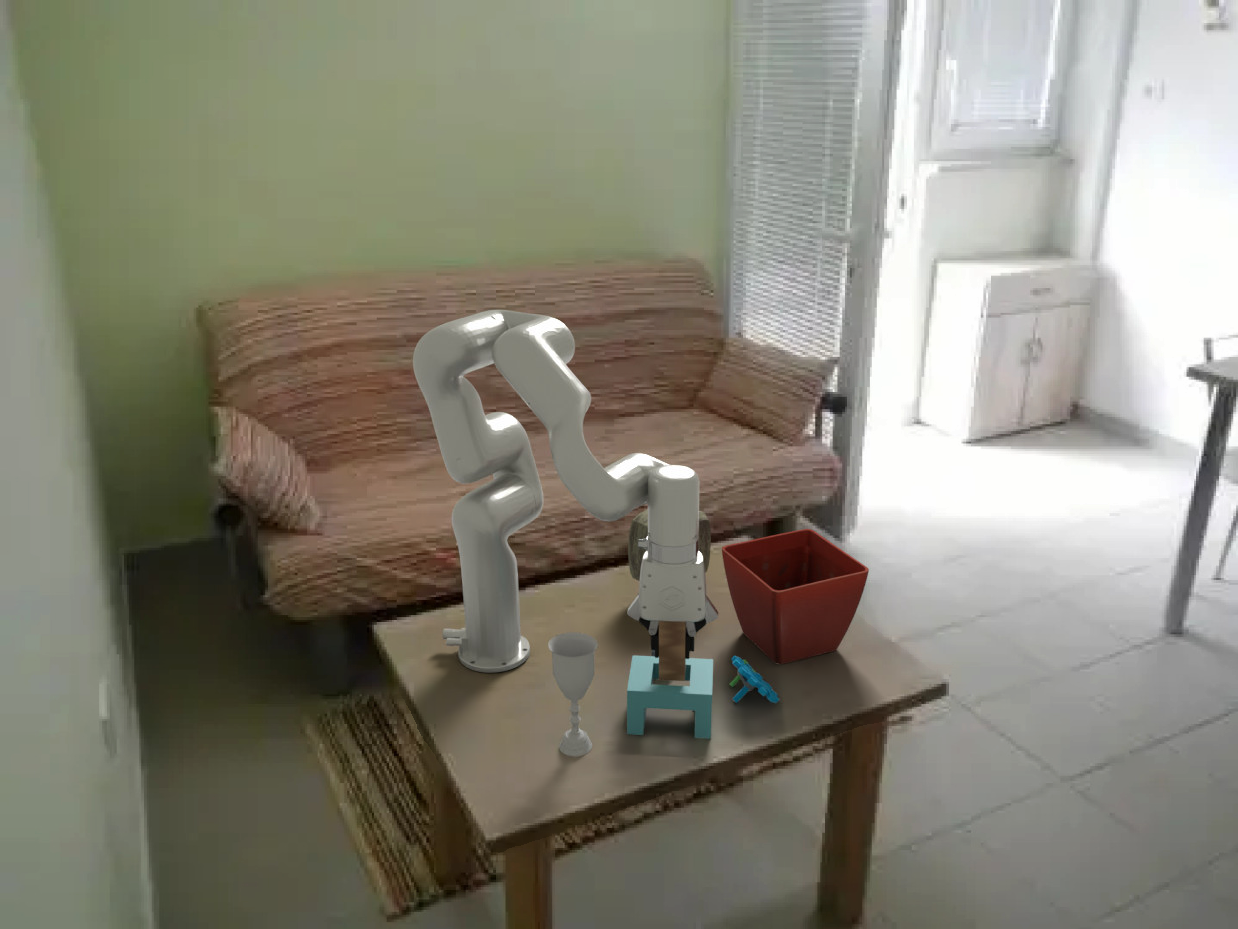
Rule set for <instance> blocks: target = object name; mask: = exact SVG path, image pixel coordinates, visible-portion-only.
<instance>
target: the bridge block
mask: <svg viewBox="0 0 1238 929" xmlns="http://www.w3.org/2000/svg"><path fill="white" fill-rule="evenodd" d="M631 657H632V658H631V663H630V670H629V676H628V682H627V687H626V688H627V689H626V690H627V691H626V717H627V718H626V722H627V723H626V727H627V728H626V733H627V735H635V736H636V735H638V736H644V731H645V725H646V724H645V723H646V714H647V709H655V710H656V709H657V710H659V709H660V710H674V711H675V710H677V711H692V712H693V711H694V712H695V714H694V715H695V716H694V738H696V739H712V712H713V676H714V675H713V674H714V673H713V672H714V659H713V658H699V657H698V658H697V657H696V658H695V657H689V659H686V669H685V681H684V682H689V685H676V684H675V685H673V684H656V683H655V684H653V683H654V680H659V657H658V658H655V656H650V655H634V654H633V655H632V656H631Z"/></svg>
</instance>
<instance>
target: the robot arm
mask: <svg viewBox="0 0 1238 929" xmlns="http://www.w3.org/2000/svg"><path fill="white" fill-rule="evenodd" d="M575 351H576V342H575V339H574V335H573V334H572V331H571V330H570V329H569V328H568V326H566V324H565V323H563V322H562V321H561V320H559V319H557V318H555V317H553V316H552V317H551V316H549V315H544V314H537V313H528V312H521V311H514V310H508V309H489V310H486V311H481V312H478V313H474V314H471V315H469V316H465V317H461V318H458V319H454V320H450V321H447V322H445V323H443V324H441V325H438V326H436V327H434V328H432V329H430V330H429V331H427V332H426V333H424V335H422V336H421V338H420V339H419V340H418V342H417V343H416V346H415V348H414V352H413V357H412V366H413V373H414V376H415V380H416V382H417V385H418V387H419V389H420V391H421V393H422V395H423V397H424V400H425V402H426V405H427V407H428V410H429V413H430V417H431V421H432V424H433V428H434V431H435V432H434V433H435V436H436V439H437V442H438V446H439V450H440V453H441V456H442V460H443V463H444V465H445V468H446V470H447V473H448V475H449V476H450V477H451V478H452V479H453V480H454V481H455V482H457V483H459V484H472V483H476V482H479V481H481V480H483V479H485V478H487V477H490V476H491V475H492V476H493V480H490V481H489V482H486V483H485V484H482V485H480V486H478V487H477V488H475V489H473V490H470V491H469V492H468V493H466V494H464V496H463V495H462V497H461V498H459V500H458V501H457V503H456V504H455V506H454V507H453V509H452V513H451V524H452V526H451V527H452V530H453V534H454V536H455V540H456V544H457V547H458V553H459V559H460V572H461V580H462V596H463V612H464V627H461V629H458V628H457V629H455V628H443V631H442V639H443V640H446V641H445V644H446V646H449V647H456V646H457V647H458V650H457V652H458V659H459V661H460V663H461V664H462V665H463V666H465V667H466V668H468V669H470V670H472V671H474V672H480V673H490V674H492V673H501V672H507V671H509V670H512V669H515V668H518V667H519V666H521V665H522V664H523V663H525V662H526V661H527V660H528V658H529V657H530V654H531V646H530V644H531V643H529V640H528V639H527V638H526V637H525V636H523V635H521V615H520V594H519V574H518V562H517V558H516V556H515V553H514V552H513V550H512V549H511V547H510V545H509V543H508V538H509V537H510V536H511V535H512V534H514V533H516V532H517V531H519V530H520V529H521V528H523V527H525V526H527V525H529V524H531V522H534V521H535V519H537V518H538V517H539V515H541V513H542V510H543V507H544V491H543V487H542V483H541V480H540V476H539V472H538V468H537V465H536V461H535V458H534V453H533V448H532V445H531V442H530V439H529V436H528V433H527V432H526V430H525V428H524V426H523V425H522V424H521V422H520V421H519V420H518V419H517V418H516V417H514V416H513V415H512V414H509V413H506V412H503V411H497V412H494V411H493V412H490V413H487V414H485V411H484V407H483V403H482V399H481V397H480V395H479V392H478V391H477V389H476V388H475V386H474V385H473V384H472V383H471V381H469V380H468V379H467V378H466V377H465V376H466V375H467V374H469V373H471V372H474V371H477V370H479V369H483V368H485V367H488V366H490V365H493V364H494V366H495V367H496V370H498V372H499V373H500V374H501V376H502V377H503V378H504V379H505V380H506V382H507V383H508V384H509V385H510V386H511V387H512V389H513V390H514V391H515V392H516V394H517V395H518V396H519V398H521V399H522V401H524V404H526V405H527V406H528V409H530V410H531V411H532V413H533V414H534V415H535V416H536V417H537V418H538V420H539V422H541V423H542V425H543V426H544V427H545V429H546V430H547V433H548V442H549V450H550V454H551V458H552V461H553V462H552V463H553V464H554V468H555V471H556V473H557V475H558V477H559V478H560V480H561V482H562V484H563V485H564V486H565V488H566V489H567V490H568V491H569V493H570V494H571V495H572V496H573V497H574V499H575V500H576V501H577V502H578V503H579V505H580V506H581V507H583V509H585V510H586V512H588V513H589V514H590V515H592V516H593V517H594V518H596V519H599V520H601V521H603V522H604V521H605V522H614V521H618V520H621V519H622V518H624V517H625V516H627V515H628V514H630V513H631V512H632V511H634V510H635V509H637V508H639V507H642V506H644V505H647V509H648V536H646V538H644V539H639V540H638V548H643V549H646V552H645V554H644V556H643V559H642V564H641V571H640V581H639V582H638V583H639V585H638V593H639V595H638V594H637V596H636V597H635V599H634V600H633V601H632V602H631V604H630V606H628V609H627V611H626V612H627V615H628V616H629V617H630V618H632V619H633V620H635V621H638V623H639V624H640V625H641V626H643V628H645V629H646V630H647V631H648V634H649V635H650V651H651V650H655V658H658V657H659V621H668V622H686V634H685V658H686V659H689V658H690V655H691V654H690V652H694V651H695V636H696V634H697V633H698V632H700V630H701V629H703V628H704V627H705V626H706V625H707V624H710V623H711V622H713V621H716V620H717V619H718V618H719V611H718V609H717V608H716V607H715V605H714V603H713V602H712V601H711V600H710V598H709V597H708V595H707V578H706V573H705V567H704V561H703V557H702V554H701V553H700V552H699V551H698V533H699V511H700V479H699V478H700V477H699V476H698V473H697V472H696V471H695V470H694V469H692V468H691V467H689V466H685V465H679V464H669V463H666V462H664V461H662V460H660V459H657V458H655V457H654V456H651V455H648V454H646V453H643V452H642V453H641V452H635V453H634V452H633V453H629V454H628V455H625V456H624V457H621V458H620V459H618V460H617V461H614V462H613V463H611V464H609V465H608V466H606V467H604V466H603V465H602V464H601V463H600V462H599V461H598V460H597V458H596V457H595V456H594V454H593V453H592V452H591V450H590V448H589V447H588V445H587V442H586V440H585V435H584V419H585V416H586V413H587V411H588V410H589V408H590V406H591V403H592V395H591V392H590V391H589V390H588V388H586V386H584V384H583V383H582V382H581V380H579V378H578V377H577V376H576V375H575V373H573V372H572V370H571V369H570V368H569V367H568V365H567V364H568V363H570V361H571V360H572V359H573V357H574V355H575Z"/></svg>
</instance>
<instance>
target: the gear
mask: <svg viewBox="0 0 1238 929" xmlns="http://www.w3.org/2000/svg"><path fill="white" fill-rule="evenodd" d="M731 662H732V664H733V666H734V667H735V668H737V672H736V673H737V676H736V677H734V678H733V680H732V681H731V682H730V683H729V685H730V686H731V688H734V686H735V685H736V684H737V683H738V682H739V681H742V683H743V685H744V686H742V688H741V689H740V690H739V691H738V692H737V693H736V694H735V695H734V696H733V697H732V701H734V702H735V703H736V704H738V703H739V701H740V700H741V699H742V698H743V697H744V696H745V695H746V694H747V693H748V692H751V691H753V690H754V688H757V689H758V690H757V692H758V693H759V694H760V695H761V696H762V697H766V699H767V700H769V702H771V703H774V704H777V703H778V702H779V701H780V698H779V697H778V696H779V695H778V693H777V692H775V691H774V690H773V687H772V686H771V685H770V683H769V682H767V681H766V680H763V679H764V678H763V676H762V675H761V674H760V673H759V672H756V671H755V670H754V669H753V667H752V666H751V665H750V664H749V662H748V661H747V660H746V659H743V658H741V657H739V656H736V655H733V656H732V658H731Z"/></svg>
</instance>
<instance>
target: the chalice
mask: <svg viewBox="0 0 1238 929" xmlns="http://www.w3.org/2000/svg"><path fill="white" fill-rule="evenodd" d="M598 643H599V642H598V641H597V639H596V638H594V637H593V636H592V635H589V634H587V633H585V632H584V633H583V632H578V631H577V632H571V631H570V632H565V633H560V634H557V635H555V636H552V637H551V639H550V640H549V641H548V643H547V645H548V649H549V650H550V652H551V656H552V657H551V660H552V661H551V662H552V663H551V665H552V676H553V677H554V680H555V682H556V685H557V686H558V688H559V690H560V691H561V693H562V694H563V696H564V697H565V699H566V700H568V701H570V703H571V704H570V706H569V709H568V711H570V713H571V714H570V715H571V716H570V717H569V718H568V720H569V722H570V724H571V728H570V729H568V730H566V731H565V733H564V734H563V736H562V737H561V741H560V743H558V744H559V746H558V748H559V751H561V753H562V754H563V755H566V756H569V757H581V756H584V755H587V754H588V753H589V752H591V750H592V749H593V743H592V741H591V740H590V736H588V734H587V732H586V731H585V730H584V729H583V728H580V727H579V723H580V722H581V721H582V718H581V717H580V716H579V713H580V711H581V708H580V706H579V704H578V702H579V700H582V699H583V698H584V697H585V695H586V693H587V691H588V689H589V688H590V686H591V684H592V681H593V678H594V676H595V652H596V649H597V648H598Z"/></svg>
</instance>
